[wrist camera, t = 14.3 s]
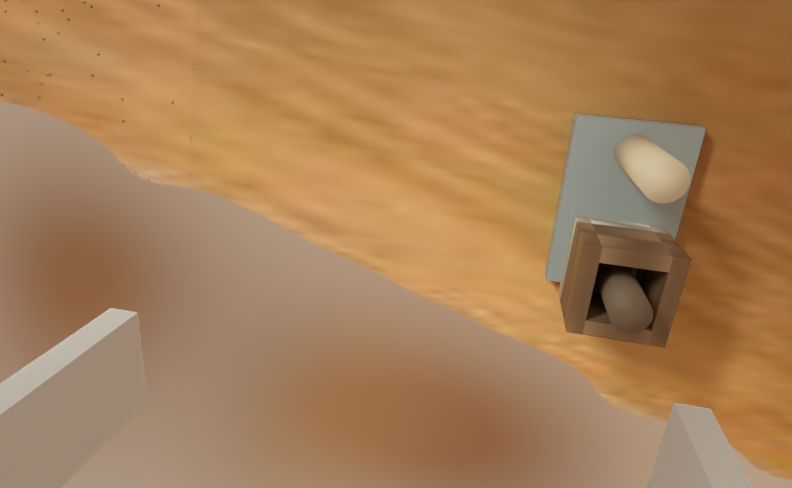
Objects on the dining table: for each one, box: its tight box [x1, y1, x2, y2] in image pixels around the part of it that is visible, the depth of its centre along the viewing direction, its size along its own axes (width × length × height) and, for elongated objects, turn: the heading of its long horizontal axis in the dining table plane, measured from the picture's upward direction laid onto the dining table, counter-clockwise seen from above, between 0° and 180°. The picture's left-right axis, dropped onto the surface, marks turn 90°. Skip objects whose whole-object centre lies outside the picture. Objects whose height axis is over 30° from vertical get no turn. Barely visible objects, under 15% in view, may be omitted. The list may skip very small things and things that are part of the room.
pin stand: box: [545, 113, 706, 333], centre depth 35 cm, size 8×12×9 cm, turn 176°
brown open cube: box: [559, 215, 691, 348], centre depth 36 cm, size 6×6×6 cm
